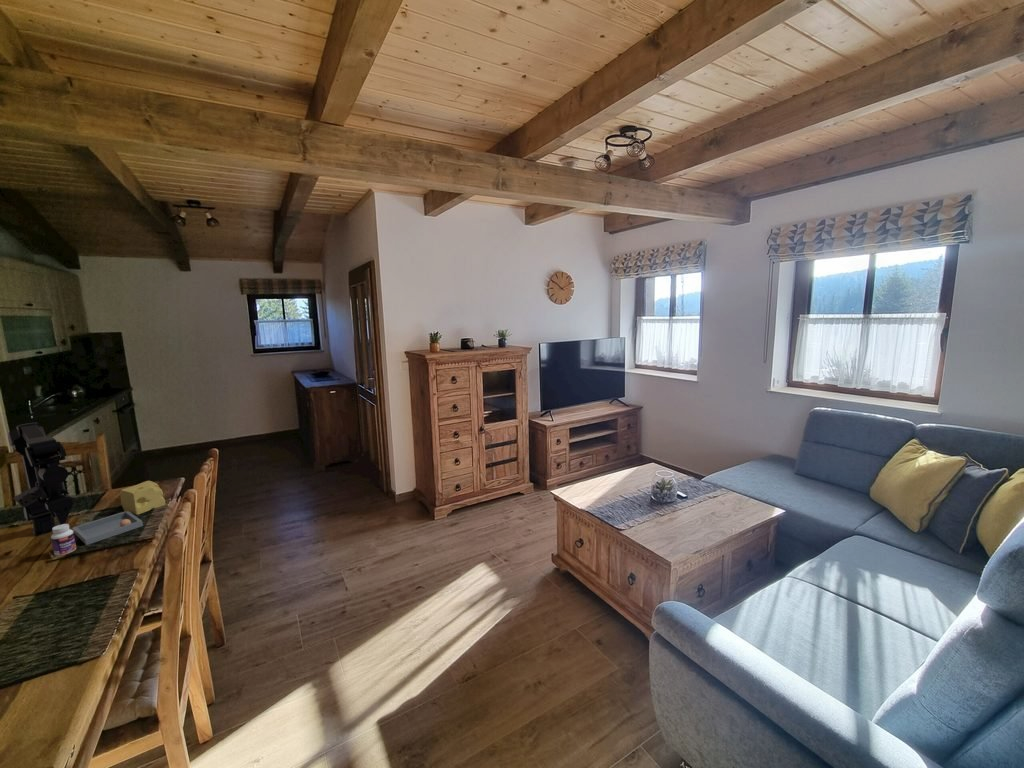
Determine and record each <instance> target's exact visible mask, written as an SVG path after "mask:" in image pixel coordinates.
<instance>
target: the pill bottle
mask: <svg viewBox="0 0 1024 768" xmlns="http://www.w3.org/2000/svg"><path fill="white" fill-rule="evenodd" d="M57 525H58V526H55V527H53V528H52V531H51V532H52V534H51V536H50V541H51V545H52V551H53V555H54V556H63V555H68V554H70V553H72V552H74V551H76V549H77V543H76V540H75V538H76V537H75V534H74V532H73V529H71V528H70V524H69V523H65V524H62V525H61V524H57Z"/></svg>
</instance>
